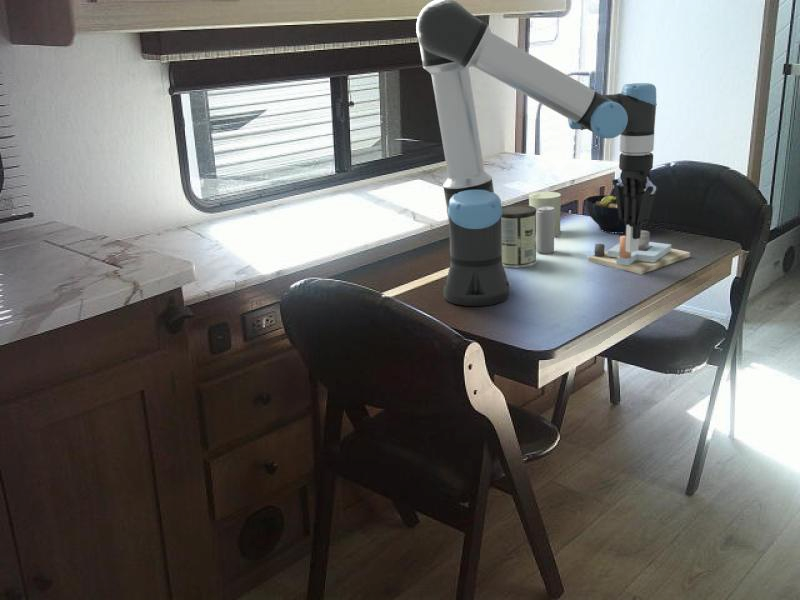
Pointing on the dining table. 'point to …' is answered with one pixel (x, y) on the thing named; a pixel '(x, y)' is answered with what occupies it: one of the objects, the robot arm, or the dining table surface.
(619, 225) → the bowl
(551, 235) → the beverage can
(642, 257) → the flange plate
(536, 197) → the can
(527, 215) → the coffee can
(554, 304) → the dining table surface
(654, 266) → the post base
